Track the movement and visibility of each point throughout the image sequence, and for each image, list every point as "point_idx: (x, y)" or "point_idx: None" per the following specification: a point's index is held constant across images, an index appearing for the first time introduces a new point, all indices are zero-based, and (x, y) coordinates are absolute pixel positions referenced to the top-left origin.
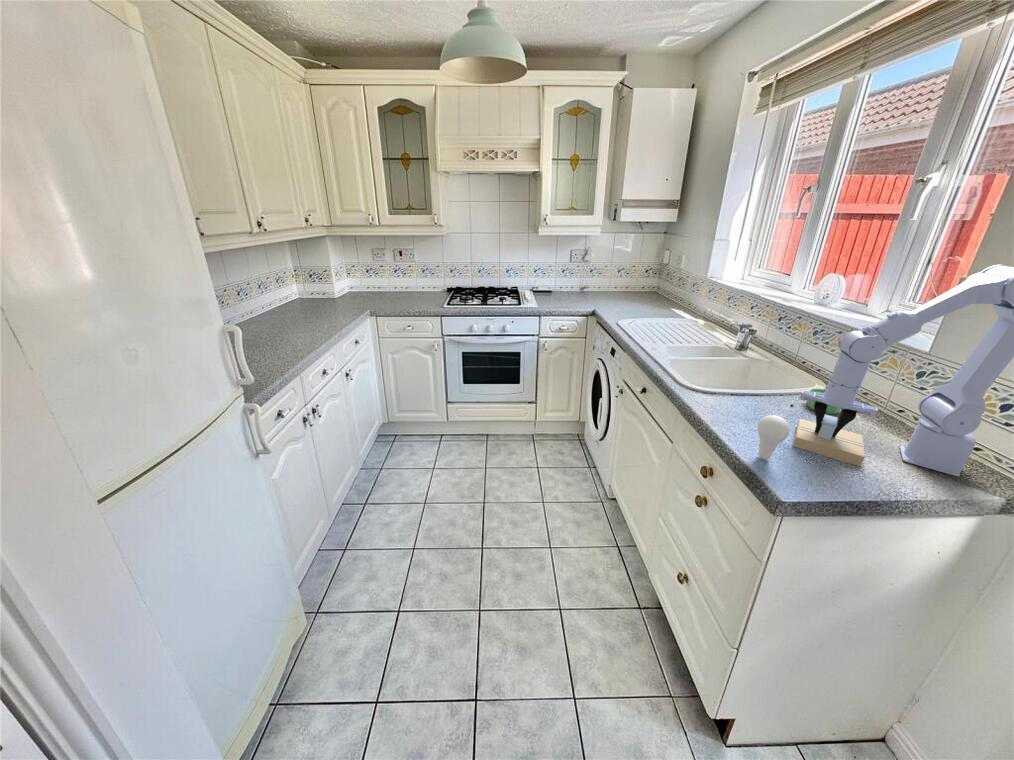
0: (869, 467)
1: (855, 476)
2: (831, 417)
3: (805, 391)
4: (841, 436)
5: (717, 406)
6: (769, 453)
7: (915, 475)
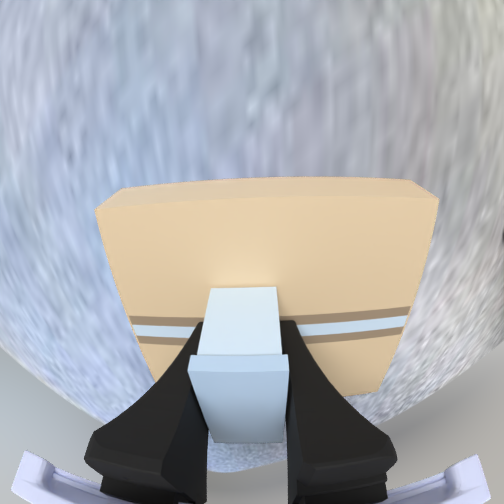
0: None
1: None
2: (248, 389)
3: (28, 498)
4: (329, 297)
5: None
6: None
7: (492, 300)
